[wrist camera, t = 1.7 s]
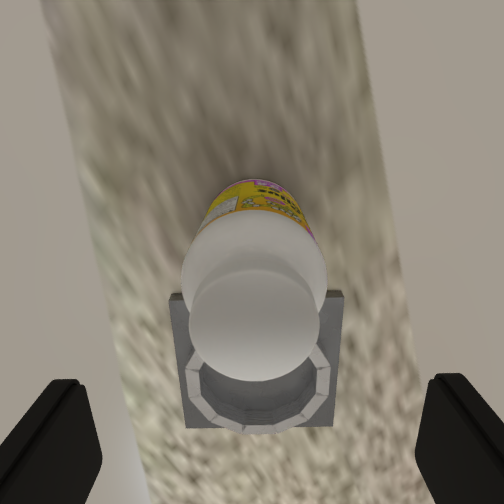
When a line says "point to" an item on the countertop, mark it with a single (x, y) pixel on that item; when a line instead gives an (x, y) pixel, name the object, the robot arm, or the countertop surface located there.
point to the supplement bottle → (254, 283)
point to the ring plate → (260, 382)
